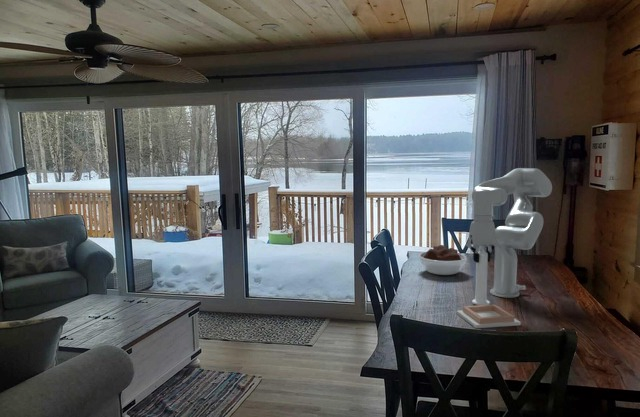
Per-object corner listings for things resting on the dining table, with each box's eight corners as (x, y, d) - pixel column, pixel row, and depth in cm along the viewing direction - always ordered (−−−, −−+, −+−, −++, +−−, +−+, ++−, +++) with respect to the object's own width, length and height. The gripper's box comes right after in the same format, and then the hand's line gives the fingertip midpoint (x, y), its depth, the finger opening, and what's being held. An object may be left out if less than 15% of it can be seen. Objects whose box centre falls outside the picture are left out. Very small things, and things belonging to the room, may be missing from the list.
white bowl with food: (476, 276, 239) (477, 248, 237) (436, 281, 229) (437, 252, 228) (446, 265, 262) (447, 240, 260) (409, 270, 253) (410, 243, 251)
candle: (485, 300, 197) (487, 243, 193) (492, 305, 190) (494, 247, 186) (469, 300, 196) (471, 244, 193) (475, 306, 189) (477, 247, 186)
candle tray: (497, 310, 186) (498, 303, 185) (520, 325, 170) (520, 317, 170) (456, 313, 183) (456, 305, 183) (475, 328, 168) (476, 319, 167)
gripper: (496, 216, 193) (495, 258, 196) (459, 218, 191) (458, 260, 193) (506, 219, 186) (505, 262, 188) (468, 220, 183) (467, 264, 186)
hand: (481, 261), depth 191 cm, fingers closed on candle, 4 cm apart
